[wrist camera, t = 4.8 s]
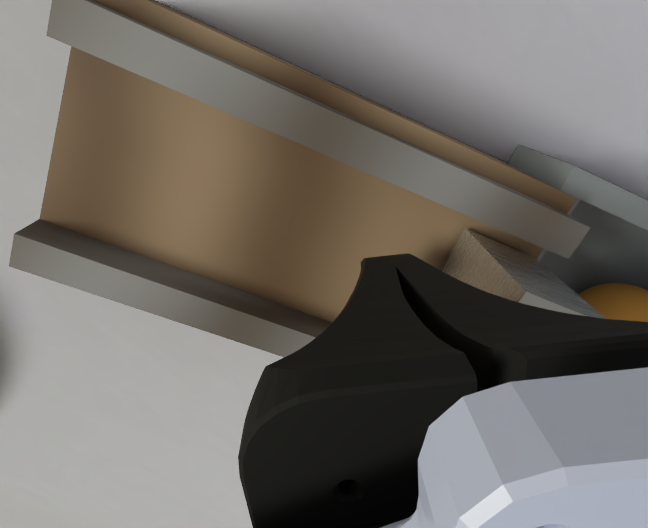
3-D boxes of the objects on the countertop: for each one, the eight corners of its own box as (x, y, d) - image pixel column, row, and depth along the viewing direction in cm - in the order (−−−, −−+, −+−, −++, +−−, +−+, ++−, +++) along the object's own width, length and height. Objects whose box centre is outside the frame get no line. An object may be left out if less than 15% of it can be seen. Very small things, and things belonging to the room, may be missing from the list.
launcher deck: (507, 163, 18) (601, 211, 12) (412, 325, 20) (451, 425, 15) (153, -1, 15) (58, -40, 9) (102, 212, 18) (6, 281, 12)
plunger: (533, 256, 13) (617, 328, 10) (465, 358, 15) (517, 454, 11) (465, 227, 13) (525, 291, 9) (402, 335, 14) (433, 427, 11)
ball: (591, 256, 20) (687, 304, 18) (539, 329, 21) (625, 377, 20) (606, 276, 16) (725, 338, 15) (541, 362, 17) (646, 423, 16)
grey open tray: (707, 234, 19) (802, 274, 15) (573, 399, 23) (624, 464, 19) (518, 144, 17) (575, 166, 14) (404, 339, 21) (424, 398, 17)
